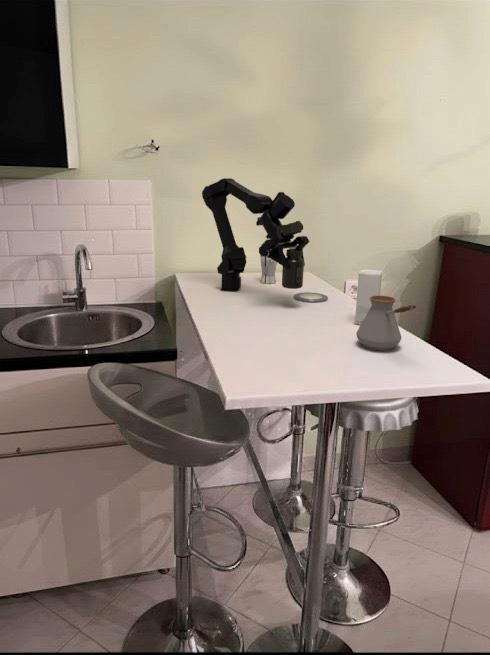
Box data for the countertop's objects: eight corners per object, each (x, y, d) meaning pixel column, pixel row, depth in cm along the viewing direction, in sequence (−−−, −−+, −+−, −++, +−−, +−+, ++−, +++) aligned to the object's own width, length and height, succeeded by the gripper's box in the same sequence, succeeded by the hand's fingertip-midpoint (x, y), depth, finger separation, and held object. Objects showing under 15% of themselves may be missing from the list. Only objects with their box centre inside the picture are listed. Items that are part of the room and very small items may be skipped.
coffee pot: (348, 339, 139) (353, 285, 134) (387, 337, 141) (393, 284, 137) (385, 369, 119) (393, 307, 115) (430, 366, 122) (439, 305, 117)
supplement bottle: (299, 284, 171) (302, 248, 167) (304, 289, 165) (307, 252, 161) (279, 284, 170) (281, 248, 166) (283, 289, 164) (286, 251, 160)
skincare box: (375, 327, 151) (381, 275, 146) (352, 324, 153) (357, 272, 148) (378, 319, 158) (383, 269, 153) (356, 317, 160) (361, 267, 155)
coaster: (292, 301, 177) (292, 299, 177) (295, 293, 188) (295, 291, 188) (327, 303, 175) (327, 301, 175) (328, 295, 186) (328, 293, 186)
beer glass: (257, 281, 206) (258, 243, 202) (273, 280, 208) (274, 243, 204) (262, 284, 200) (264, 246, 196) (279, 284, 202) (281, 245, 198)
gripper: (266, 213, 157) (290, 255, 153) (307, 211, 169) (330, 249, 165) (248, 235, 165) (270, 276, 161) (288, 232, 177) (310, 269, 173)
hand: (296, 267), depth 164 cm, fingers closed on supplement bottle, 7 cm apart
